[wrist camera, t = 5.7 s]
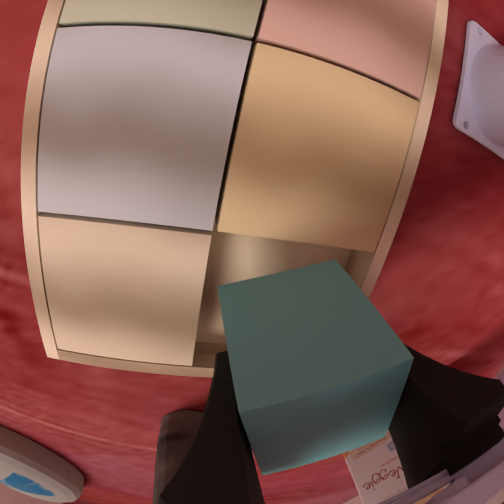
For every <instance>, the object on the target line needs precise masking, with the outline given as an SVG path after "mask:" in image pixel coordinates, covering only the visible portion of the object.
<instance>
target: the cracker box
mask: <svg viewBox="0 0 504 504" xmlns="http://www.w3.org/2000/svg"><path fill="white" fill-rule="evenodd" d="M343 456H344V458H345V461H346V463H347V465H348V468H349V470H350V473H351V475H352V478H353V480H354V483H355V485H356V487H357V490H358V493H359V495H360V498H361V501H362V503H363V504H377V503H380V502H382V501H384V500H387V499H389V498H391V497H393V496H396V495H398V494H400V493H402V492H404V491H406V490H408V487H407V484H406V480H405V476H404V473H403V469H402V466H401V462H400V460H399V457H398V454H397V451H396V448H395V445H394V443H393V440H392V437H391V435H390V432H389V430H387V433H386V435H385V437H383V438H381V439H378V440H376V441H373V442H371V443H368V444H366V445H363V446H361V447H358V448H355V449H353V450H350V451H347V452H344V453H343ZM450 483H451V482H450ZM450 483H449V484H450ZM449 484H447V485H446V486H444V487H442V488H441V489H439V490H437V491H435V492H434V493H432V494H430V495H428V496H427V497H425V498H423V499H421V500H419V501H417V502H415V503H413V504H424V503H426V502H427V501H428V500H430V499H431V498H432V497H433V496H434V495H435V494H437V493H439V492H440V491H442V490H443V489H445V488H446V487H448V486H449ZM486 504H504V489H503V490H501V491H500V492H499V493H498V494H497V495H496V496H494V497H493V498H492V499H491V500H490V501H488V502H487V503H486Z"/></svg>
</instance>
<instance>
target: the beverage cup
mask: <svg viewBox="0 0 504 504" xmlns="http://www.w3.org/2000/svg"><path fill="white" fill-rule="evenodd" d="M202 416H203V413H202V412H198V411H192V410H182V411H175V412H172V413H169V414H167V415H166V416H164V417H163V418H162V420H161V428H160V433H159V436H158V444H157V454H156V465H155V478H154V491H153V504H158V499H159V495H160V493H161V492H162V491H163V489H164V488H165V487H166V485H167V484H168V482H169V481H170V480H171V478H172V477H173V475H174V474H175V472H176V470H177V469H178V467H179V465H180V464H181V462H182V460H183V459H184V457H185V455H186V453H187V451H188V449H189V447H190V445H191V443H192V441H193V439H194V437H195V434H196V432H197V429H198V427H199V424H200V422H201V419H202Z"/></svg>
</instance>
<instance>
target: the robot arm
mask: <svg viewBox="0 0 504 504" xmlns="http://www.w3.org/2000/svg"><path fill="white" fill-rule="evenodd" d="M453 125H454V127H455V128H456V129H458V130H459V131H461V132H463V133H464V134H466V135H468V136H469V137H471V138H472V139H474V140H476V141H477V142H479V143H480V144H482V145H483V146H485V147H486V148H488V149H489V150H491V151H492V152H494V153H495V154H496V155H498V156H499V157H501V158H502V159H503V160H504V46H502V45H500V44H499V43H498V42H497V41H496V40H495V39H494V38H493V37H492V36H491V35H490V34H489V33H488V32H487V31H485V30H484V29H483V28H482V27H481V26H480V25H479V24H478V23H476V22H475V21H468V22H467V31H466V41H465V50H464V58H463V65H462V72H461V78H460V84H459V90H458V95H457V100H456V105H455V110H454V115H453ZM403 344H404V343H403ZM404 345H405V344H404ZM405 347H406V348H407V349H408V351H409V352H410V353H411V355H412V356H413V357H414V359H413V362H412V365H411V368H410V371H409V374H408V377H407V380H406V383H405V386H404V389H403V392H402V395H401V397H400V400H399V403H398V405H397V408H396V411H395V413H394V416H393V418H392V421H391V423H390V426H389V428H388V430H389V432H390V435H391V437H392V440H393V443H394V445H395V448H396V451H397V454H398V457H399V460H400V462H401V466H402V469H403V473H404V476H405V480H406V484H407V487H408V490H406V491H404V492H402V493H400V494H398V495H396V496H393V497H391V498H389V499H387V500H384V501H382V502H380V503H377V504H413V503H415V502H417V501H419V500H421V499H423V498H425V497H427V496H428V495H430V494H432V493H434V492H435V491H437V490H439V489H441V488H442V487H444V486H446V485H447V484H449V483H450V482H451V483H450V484H449V486H448V487H446V488H445V489H443V490H442V491H440V492H439V493H437V494H435V495H434V496H433V497H432V498H431V499H430V500H428V501H427V502H426V503H424V504H486V503H487V502H488V501H490V500H491V499H492V498H493V497H494V496H496V495H497V494H498V493H499V492H500V491H501V490H503V489H504V429H502V428H501V427H500V426H499V423H500V418H499V417H498V416H497V415H498V414H499V412H500V411H501V409H502V408H503V407H504V385H503V384H502V382H501V381H500V380H497V379H491V378H486V377H480V376H476V375H473V374H469V373H465V372H462V371H459V370H456V369H454V368H451V367H448V366H446V365H443V364H441V363H439V362H437V361H435V360H432V359H430V358H428V357H426V356H424V355H422V354H421V353H419V352H417V351H415V350H414V349H412V348H410V347H409V346H407V345H405ZM158 504H265V502H264V499H263V495H262V491H261V487H260V483H259V479H258V475H257V471H256V467H255V463H254V459H253V455H252V449H251V444H250V442H249V439H248V436H247V434H246V431H245V428H244V425H243V423H242V420H241V417H240V414H239V411H238V406H237V400H236V395H235V390H234V384H233V379H232V373H231V367H230V362H229V356H228V351H224V352H219V353H217V354H216V355H215V367H214V373H213V379H212V384H211V388H210V392H209V396H208V400H207V403H206V407H205V410H204V413H203V416H202V419H201V422H200V424H199V427H198V429H197V432H196V434H195V437H194V439H193V441H192V443H191V445H190V447H189V449H188V451H187V453H186V455H185V457H184V459H183V460H182V462H181V464H180V465H179V467H178V469H177V470H176V472H175V474H174V475H173V477H172V478H171V480H170V481H169V482H168V484H167V485H166V487H165V488H164V489H163V491H162V492H161V493H160V495H159V499H158Z"/></svg>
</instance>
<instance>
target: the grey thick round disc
mask: <svg viewBox="0 0 504 504" xmlns="http://www.w3.org/2000/svg"><path fill="white" fill-rule="evenodd" d="M0 482H1V483H2V484H4V485H6V486H8V487H10V488H12V489H14V490H16V491H18V492H20V493H23V494H26V495H28V496H31V497H35V498H38V499H41V500H46V501H50V502H58V503H65V502H73V501H75V500H77V499H78V498H79V497H80V496H81V494H82V491H83V487H84V478H83V476H82V474H81V473H80V472H79V471H78V470H77V469H76V468H75V467H74V466H72V465H71V464H70V463H68V462H67V461H65V460H64V459H63V458H61V457H59V456H58V455H56V454H55V453H53V452H51V451H50V450H48V449H46V448H44V447H43V446H41V445H39V444H37V443H35V442H33V441H31V440H29V439H27V438H25V437H23V436H21V435H19V434H17V433H15V432H13V431H11V430H9V429H6V428H4V427H2V426H0Z"/></svg>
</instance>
